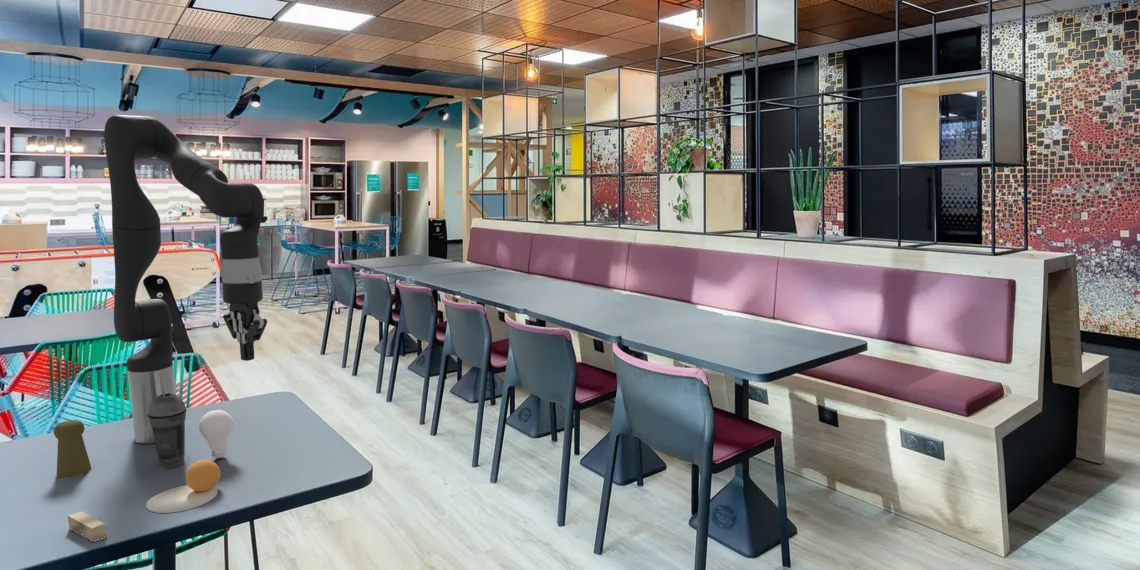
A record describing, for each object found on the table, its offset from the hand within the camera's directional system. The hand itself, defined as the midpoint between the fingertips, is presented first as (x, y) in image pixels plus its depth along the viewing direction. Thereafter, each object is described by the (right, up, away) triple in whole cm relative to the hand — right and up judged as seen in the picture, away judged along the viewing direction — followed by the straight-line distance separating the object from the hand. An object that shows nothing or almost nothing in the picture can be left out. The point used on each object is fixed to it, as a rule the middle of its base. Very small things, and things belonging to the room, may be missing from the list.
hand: (247, 359), depth 147 cm
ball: (-3, -21, -12) cm, 25 cm away
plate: (-6, -25, -15) cm, 30 cm away
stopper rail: (-15, -27, -28) cm, 41 cm away
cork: (-36, -24, -1) cm, 43 cm away
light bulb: (-8, -23, +5) cm, 24 cm away
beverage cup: (-17, -23, +2) cm, 29 cm away
